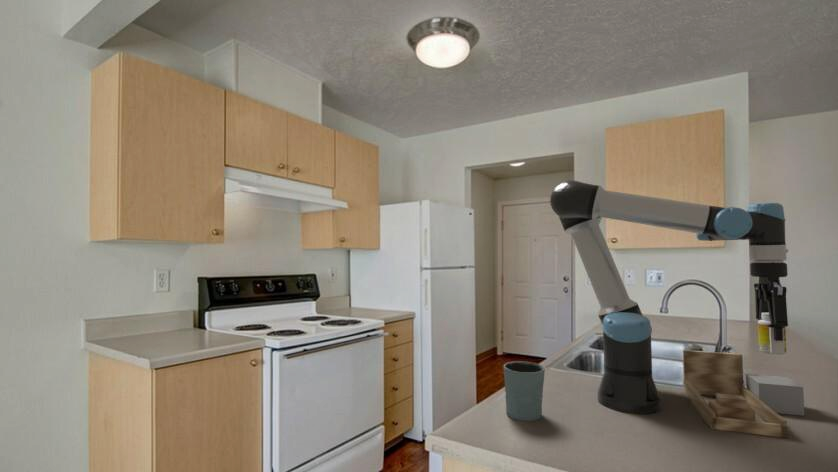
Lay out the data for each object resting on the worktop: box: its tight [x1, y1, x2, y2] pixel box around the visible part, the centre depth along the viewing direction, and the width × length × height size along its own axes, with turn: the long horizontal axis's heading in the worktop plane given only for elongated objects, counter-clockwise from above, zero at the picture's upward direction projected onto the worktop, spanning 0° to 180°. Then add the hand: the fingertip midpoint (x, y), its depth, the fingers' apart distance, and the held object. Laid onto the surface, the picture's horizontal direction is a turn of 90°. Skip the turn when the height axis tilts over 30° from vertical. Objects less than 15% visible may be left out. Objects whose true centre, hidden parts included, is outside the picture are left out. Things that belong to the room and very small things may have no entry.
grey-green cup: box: [503, 361, 546, 422], centre depth 105 cm, size 10×10×12 cm
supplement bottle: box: [757, 313, 787, 356], centre depth 110 cm, size 6×6×10 cm
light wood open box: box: [682, 349, 788, 439], centre depth 107 cm, size 14×28×12 cm, turn 159°
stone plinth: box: [745, 373, 805, 416], centre depth 109 cm, size 9×9×7 cm
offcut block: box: [716, 393, 747, 409], centre depth 98 cm, size 5×3×2 cm, turn 68°
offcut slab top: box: [708, 400, 757, 421], centre depth 98 cm, size 8×4×2 cm, turn 77°
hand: (772, 350), depth 110 cm, fingers closed on supplement bottle, 6 cm apart
